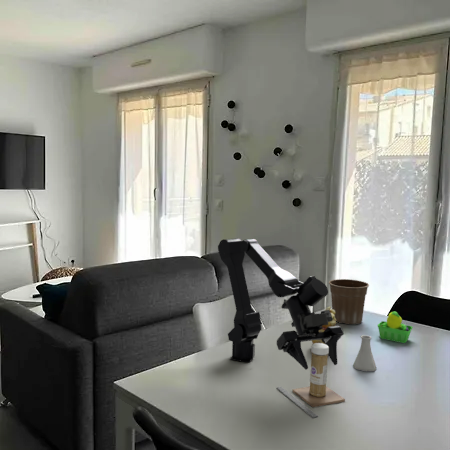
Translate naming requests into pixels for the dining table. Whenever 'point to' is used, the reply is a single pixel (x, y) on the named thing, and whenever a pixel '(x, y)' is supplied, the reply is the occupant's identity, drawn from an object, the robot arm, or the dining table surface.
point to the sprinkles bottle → (318, 369)
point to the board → (318, 401)
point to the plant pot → (348, 300)
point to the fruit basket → (394, 329)
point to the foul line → (297, 402)
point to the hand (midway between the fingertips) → (321, 366)
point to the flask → (365, 356)
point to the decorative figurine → (324, 327)
